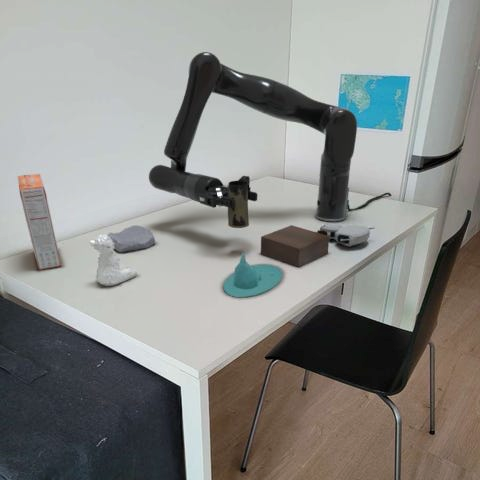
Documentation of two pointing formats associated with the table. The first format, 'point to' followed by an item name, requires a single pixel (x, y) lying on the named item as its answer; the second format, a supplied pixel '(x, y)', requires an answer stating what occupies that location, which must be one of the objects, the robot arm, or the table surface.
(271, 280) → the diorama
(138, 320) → the table surface
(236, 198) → the mug
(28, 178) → the cracker box
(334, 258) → the table surface
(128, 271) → the sitting furry creature
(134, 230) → the stone block
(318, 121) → the robot arm
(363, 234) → the robot toy
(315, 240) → the walnut block
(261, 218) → the table surface
